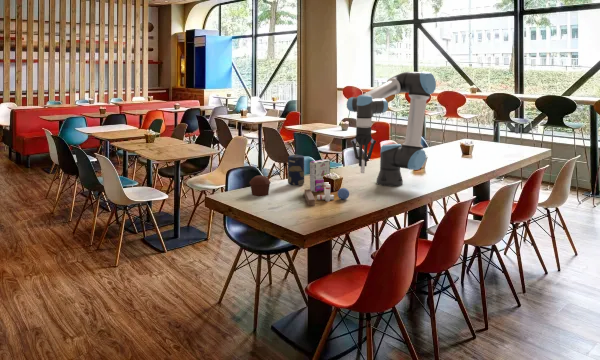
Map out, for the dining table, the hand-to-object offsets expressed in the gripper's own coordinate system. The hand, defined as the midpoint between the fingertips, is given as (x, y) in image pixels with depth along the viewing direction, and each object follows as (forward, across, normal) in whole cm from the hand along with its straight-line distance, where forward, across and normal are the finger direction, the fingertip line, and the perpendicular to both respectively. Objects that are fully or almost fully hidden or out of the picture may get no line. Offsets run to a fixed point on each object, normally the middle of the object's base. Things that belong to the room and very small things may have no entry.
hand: (362, 172), depth 268 cm
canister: (+14, +31, -36) cm, 50 cm away
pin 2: (+14, +18, +2) cm, 23 cm away
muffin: (+14, +52, -14) cm, 56 cm away
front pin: (+13, +14, 0) cm, 19 cm away
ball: (+11, +10, 0) cm, 15 cm away
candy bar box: (+14, +19, -22) cm, 32 cm away
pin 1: (+14, +18, -2) cm, 23 cm away
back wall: (+14, +27, 0) cm, 30 cm away
